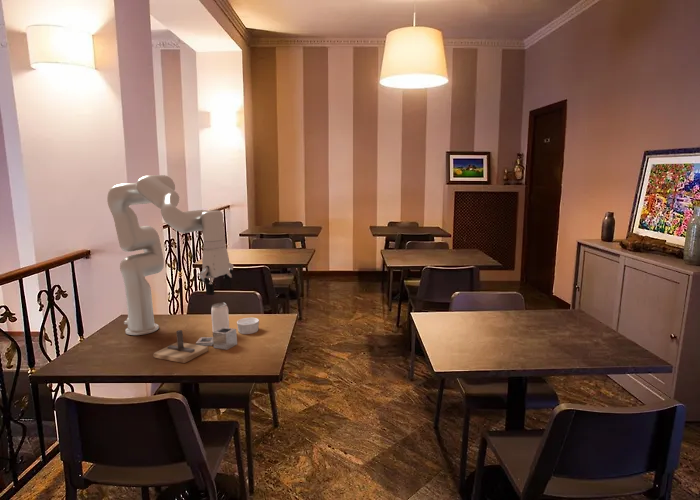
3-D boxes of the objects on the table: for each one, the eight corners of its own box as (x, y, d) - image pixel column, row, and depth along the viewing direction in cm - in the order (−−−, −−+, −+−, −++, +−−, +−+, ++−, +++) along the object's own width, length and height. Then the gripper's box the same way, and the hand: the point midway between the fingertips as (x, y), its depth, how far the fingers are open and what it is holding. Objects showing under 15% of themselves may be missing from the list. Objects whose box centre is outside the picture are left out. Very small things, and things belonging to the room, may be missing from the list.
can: (225, 337, 186) (223, 307, 184) (209, 336, 187) (207, 307, 185) (232, 331, 192) (230, 303, 190) (217, 331, 194) (215, 302, 191)
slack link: (196, 346, 177) (195, 343, 177) (200, 340, 183) (200, 337, 183) (212, 345, 177) (211, 342, 177) (216, 339, 183) (216, 336, 183)
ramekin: (257, 334, 188) (256, 324, 188) (234, 335, 189) (234, 324, 188) (261, 327, 197) (261, 317, 196) (240, 327, 197) (239, 317, 197)
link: (213, 347, 175) (212, 332, 174) (224, 342, 181) (223, 327, 180) (226, 349, 173) (225, 334, 172) (237, 344, 178) (236, 328, 177)
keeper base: (153, 357, 167) (151, 334, 166) (178, 345, 178) (176, 323, 177) (184, 363, 162) (182, 339, 160) (208, 350, 173) (206, 328, 171)
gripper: (222, 241, 180) (226, 285, 183) (189, 248, 165) (194, 296, 168) (238, 241, 177) (242, 286, 180) (206, 249, 162) (211, 298, 165)
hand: (219, 291), depth 174 cm, fingers open, 9 cm apart
